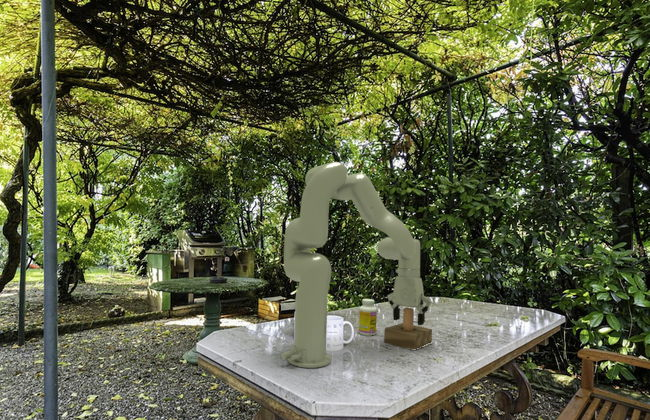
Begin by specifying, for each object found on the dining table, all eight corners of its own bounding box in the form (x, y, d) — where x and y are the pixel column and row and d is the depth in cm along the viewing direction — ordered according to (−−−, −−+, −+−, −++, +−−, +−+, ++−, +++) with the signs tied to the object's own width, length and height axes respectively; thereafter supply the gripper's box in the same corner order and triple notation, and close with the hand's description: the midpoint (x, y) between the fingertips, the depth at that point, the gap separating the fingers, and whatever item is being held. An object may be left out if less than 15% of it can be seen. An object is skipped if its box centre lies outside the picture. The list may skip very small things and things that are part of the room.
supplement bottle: (370, 337, 135) (371, 302, 136) (355, 334, 139) (356, 299, 140) (379, 333, 141) (380, 299, 141) (364, 330, 145) (365, 297, 145)
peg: (410, 345, 126) (410, 310, 127) (401, 343, 129) (401, 308, 130) (415, 343, 129) (415, 308, 130) (406, 341, 132) (406, 307, 132)
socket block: (414, 350, 121) (414, 335, 121) (384, 342, 129) (384, 328, 129) (431, 343, 129) (432, 329, 130) (402, 336, 137) (402, 323, 138)
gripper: (382, 271, 134) (382, 319, 133) (426, 276, 122) (425, 328, 121) (394, 270, 139) (393, 316, 138) (436, 275, 128) (436, 325, 126)
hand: (408, 322), depth 130 cm, fingers open, 9 cm apart
